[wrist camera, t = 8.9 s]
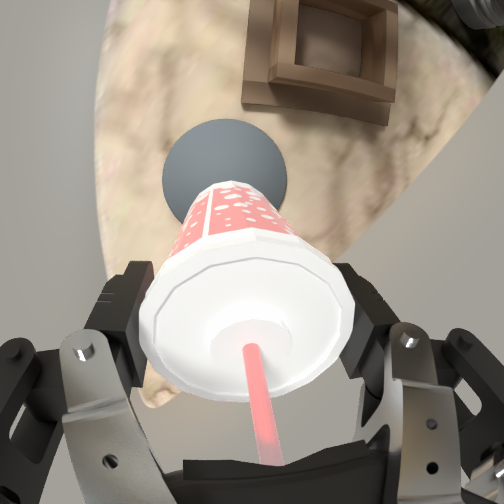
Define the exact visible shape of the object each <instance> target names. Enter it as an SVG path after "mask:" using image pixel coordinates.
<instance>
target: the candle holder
mask: <svg viewBox="0 0 504 504" xmlns="http://www.w3.org/2000/svg"><path fill="white" fill-rule="evenodd" d="M452 4H453V7H454V9H455V11H456V12H457V14H458V16H459V17H460V18H461V20H462V21H463V22H464V23H465V24H466V25H467V26H468V27H470V28H472V29H474V30H475V29H486V28H494V27H496V25H497V26H501V25H503V24H504V0H452Z"/></svg>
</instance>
